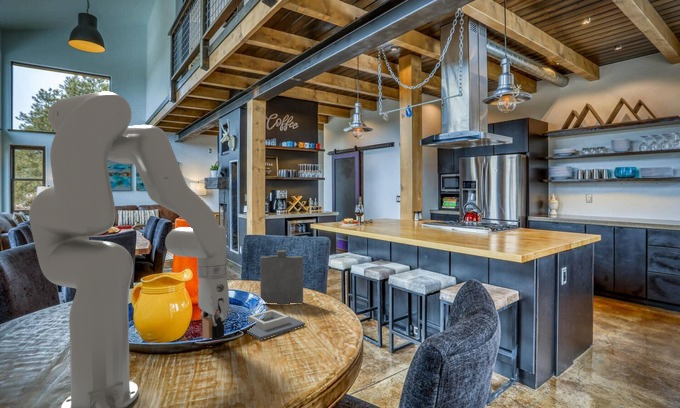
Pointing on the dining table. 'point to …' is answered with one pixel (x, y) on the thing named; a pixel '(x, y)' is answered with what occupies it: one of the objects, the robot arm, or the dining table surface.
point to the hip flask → (281, 278)
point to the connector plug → (207, 326)
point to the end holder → (272, 324)
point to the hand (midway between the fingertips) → (212, 335)
